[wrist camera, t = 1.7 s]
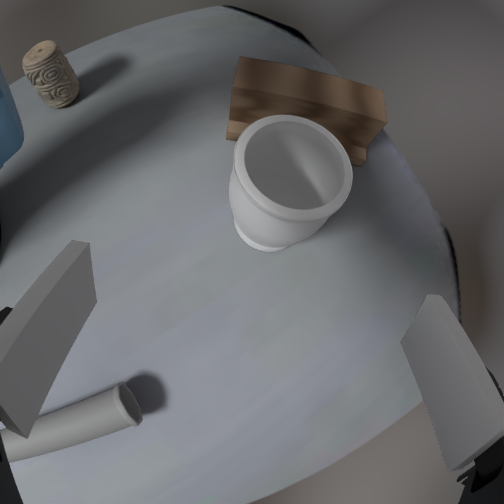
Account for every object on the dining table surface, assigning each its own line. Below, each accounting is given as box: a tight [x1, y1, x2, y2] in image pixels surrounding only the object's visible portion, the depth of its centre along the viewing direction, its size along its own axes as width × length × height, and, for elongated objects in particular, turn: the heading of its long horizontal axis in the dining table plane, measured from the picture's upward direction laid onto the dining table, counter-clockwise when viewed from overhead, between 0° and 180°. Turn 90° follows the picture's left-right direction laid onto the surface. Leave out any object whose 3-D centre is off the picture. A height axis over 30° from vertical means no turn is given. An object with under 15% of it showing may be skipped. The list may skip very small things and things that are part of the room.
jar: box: [229, 115, 353, 252], centre depth 33 cm, size 11×10×15 cm
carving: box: [23, 40, 80, 108], centre depth 36 cm, size 6×8×12 cm
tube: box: [0, 382, 143, 463], centre depth 28 cm, size 5×5×25 cm
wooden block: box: [226, 57, 387, 166], centre depth 40 cm, size 20×10×9 cm, turn 83°
